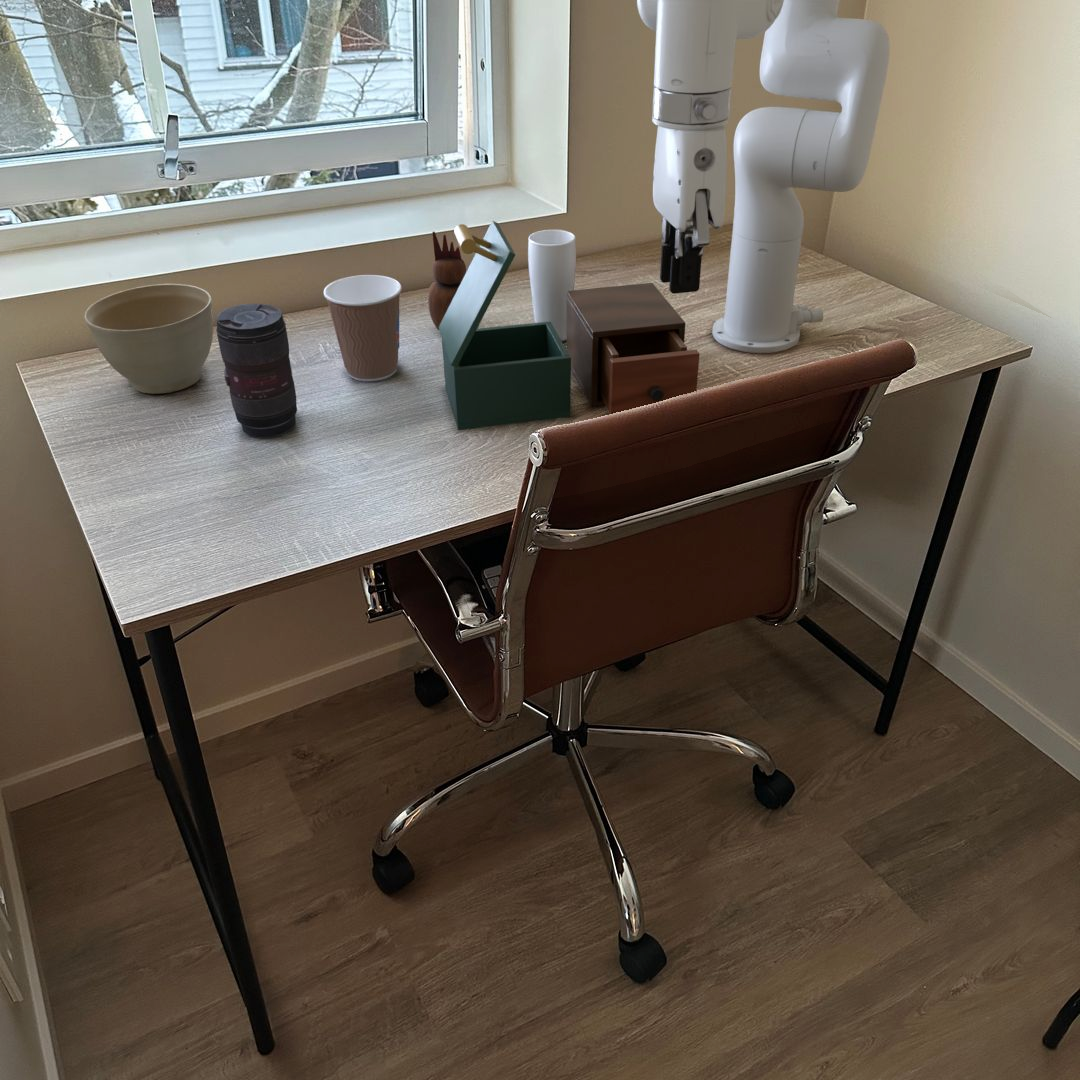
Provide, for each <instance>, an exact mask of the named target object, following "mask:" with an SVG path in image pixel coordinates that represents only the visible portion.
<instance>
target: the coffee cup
mask: <svg viewBox="0 0 1080 1080" xmlns="http://www.w3.org/2000/svg"><path fill="white" fill-rule="evenodd" d="M402 287H403V286H402V284H401V283H400V282H399V281H398V280H397V279H395V278H393V277H389V276H385V275H378V274H360V275H359V274H358V275H351V276H347V277H342V278H339V279H336V280H334V281H332V282H330V283H328V284H327V285H326V286H325V287H324V289H323V296H324V297H325V299H326V301H327V306H328V309H329V313H330V317H331V320H332V324H333V328H334V332H335V335H336V336H335V337H336V339H337V343H338V346H339V350H340V354H341V358H342V361H343V366H344V368H345V369H346V372H347V375H348V376H349V377H350V378H352V379H353V380H356V381H360V382H377V381H383V380H386V379H387V378H390V377H392V376H394V374H395V373H396V372H397V370H398V363H399V349H400V293H401V292H402Z"/></svg>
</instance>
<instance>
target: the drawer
mask: <svg viewBox="0 0 1080 1080" xmlns="http://www.w3.org/2000/svg"><path fill="white" fill-rule="evenodd" d="M598 338H599V341H598V391H597V392H598V394H599V395H600V397H601V399H602V401H603V402H604V404H605V406H606V407H605V408H606V410H607V411H608V415H609V414H613V413H616V412H621V411H624V410H629V409H632V408H636V407H640V406H644V405H648V404H652V403H656V402H659V401H663V400H666V399H669V398H672V397H676V396H679V395H683V394H687V393H691V392H694V391H696V392H697V391H698V390H697V389H698V380H699V379H698V378H699V365H700V352H699V351H698V350H697V349H689V350H688V346H687V345H686V344H685V342H684V343H683V341H682V340H681V339H680V337H679V336H678V335H677V334H676V332H675V331H674V330H664V331H654V332H645V333H635V334H625V335H616V336H606V337H598Z"/></svg>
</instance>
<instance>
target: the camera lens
mask: <svg viewBox="0 0 1080 1080" xmlns="http://www.w3.org/2000/svg"><path fill="white" fill-rule="evenodd" d="M215 320H216V330H215V331H216V336H217V337H216V338H217V341H218V346H219V351H220V355H221V358H222V362H223V364H224V371H223V374H224V381H225V383H226V386H228V387H229V388H228V389H229V390H228V391H229V396H230V402H231V407H232V408H233V411H234V414H235V418H236V421H237V422H238V423H239V424H240V425H241V428H242V432H243V433H244V434H245V435H246V436H249V437H251V438H259V439H269V438H275V437H279V436H282V435H284V434H286V433H288V432H290V431H291V430H292V429H293V428H294V427H295V426H296V422H297V419H296V414H297V411H298V405H297V393H296V386H295V381H294V378H293V371H292V365H291V360H290V343H289V337H288V331H287V325H286V322H285V319H284V316H283V312H282V311H281V310H280V309H279V308H277V307H276V306H273V305H270V304H265V303H245V304H238V305H234V306H231V307H228V308H226V309H224V310H222V311H221V312H219V313H218V314H217V316H216V319H215Z"/></svg>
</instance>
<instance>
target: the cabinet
mask: <svg viewBox="0 0 1080 1080" xmlns="http://www.w3.org/2000/svg"><path fill="white" fill-rule="evenodd" d="M664 330H674V331H675V332H676V334H677V335H678V336H679V337H680V339H681V340H682V341H683V343H684V344H685V336H686V322H685V320H684V319H683V318H682V317H681V316H680V314H679V313H678V312H677V311H676V309H675V308H674V307H673V305H672V304H671V303H670V302H669V301H668V300H667V299H666V297H665V296H664V295H663V294H662V293H661V291H660V290H659V289H658V288H657V287H656V285H655V284H654V283H653V282H645V283H644V282H643V283H635V284H634V283H633V284H625V285H613V286H604V287H593V288H582V289H574V290H571V291H567V340H566V350H567V352H568V353H569V355H570V357H571V375H572V376H573V377H574V379H575V381H576V383H577V384H578V386H579V389H580V390H581V392H582V394H583V395H584V398H585V399H586V401H587V403H588V405H589V406H590V408H591V409H596V408H604V407H605V408H606V406H605V404H604V402H603V401H602V399H601V397H600V395H599V394H598V392H597V391H598V341H599V338H598V337H606V336H616V335H625V334H635V333H645V332H654V331H664Z"/></svg>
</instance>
